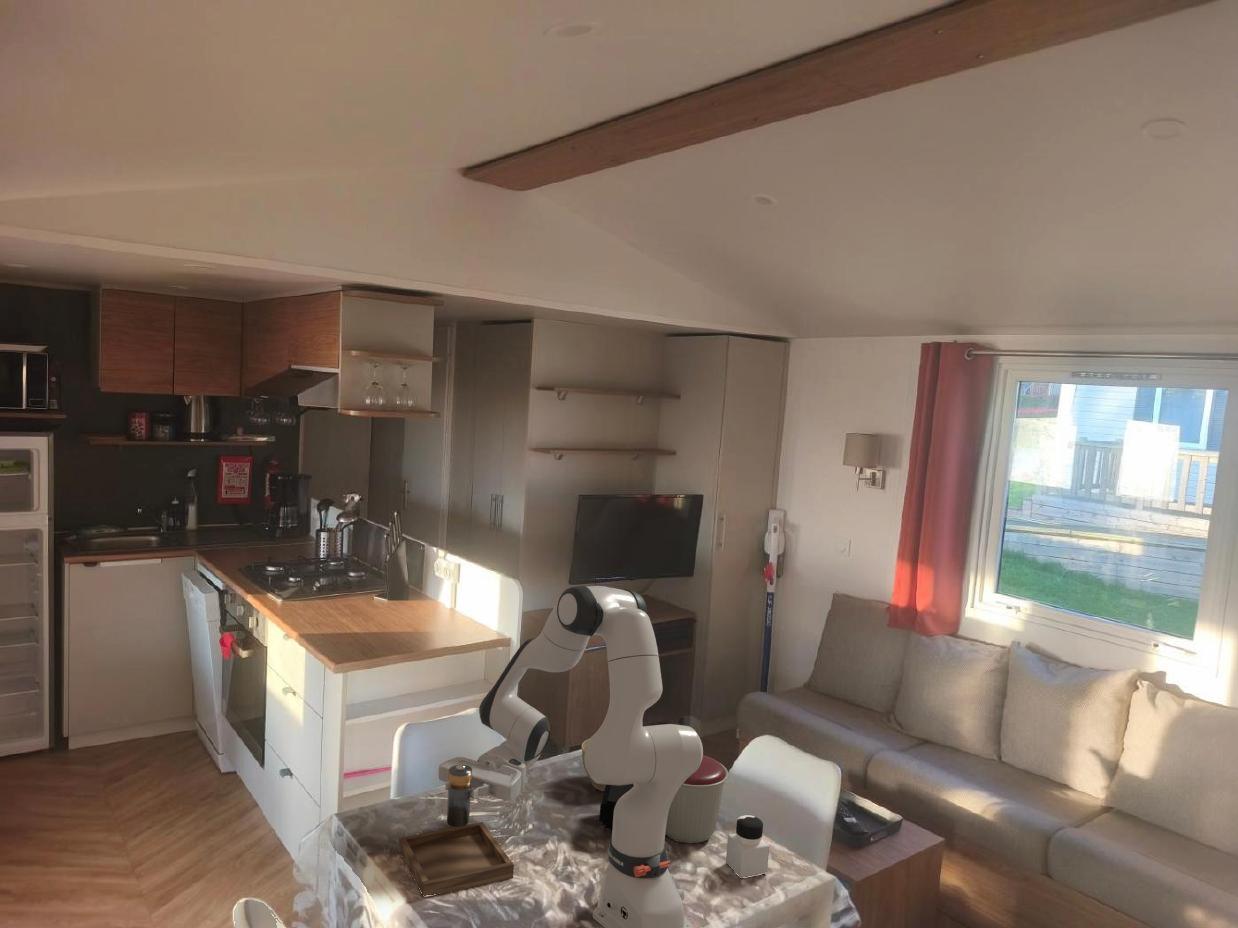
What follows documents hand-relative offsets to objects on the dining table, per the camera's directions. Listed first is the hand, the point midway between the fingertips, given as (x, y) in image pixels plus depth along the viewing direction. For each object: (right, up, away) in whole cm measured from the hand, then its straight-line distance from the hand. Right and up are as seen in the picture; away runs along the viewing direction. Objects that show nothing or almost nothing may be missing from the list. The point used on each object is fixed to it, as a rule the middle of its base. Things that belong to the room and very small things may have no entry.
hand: (459, 790), depth 191 cm
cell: (-1, -7, +1) cm, 7 cm away
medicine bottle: (+65, -21, +7) cm, 69 cm away
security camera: (+35, -18, +24) cm, 45 cm away
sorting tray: (-1, -17, +1) cm, 17 cm away
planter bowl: (+33, -16, +45) cm, 58 cm away
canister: (+52, -19, +22) cm, 60 cm away
